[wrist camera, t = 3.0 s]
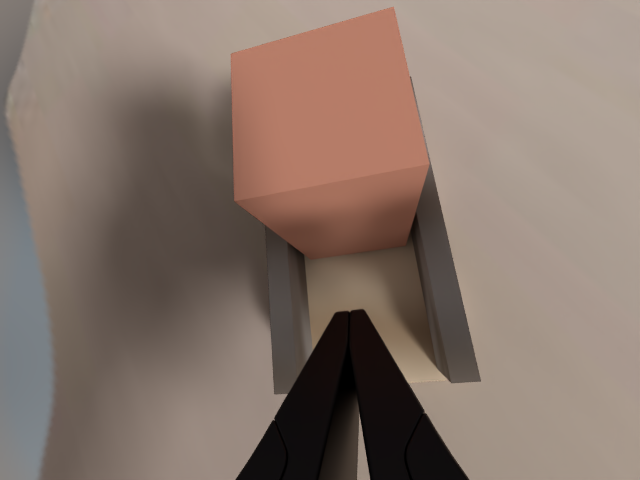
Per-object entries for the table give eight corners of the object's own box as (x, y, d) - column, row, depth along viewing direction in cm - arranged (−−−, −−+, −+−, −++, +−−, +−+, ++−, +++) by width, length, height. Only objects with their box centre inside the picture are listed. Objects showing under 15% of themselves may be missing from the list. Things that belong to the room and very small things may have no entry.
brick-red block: (405, 246, 15) (429, 163, 7) (310, 259, 16) (234, 201, 8) (389, 159, 16) (393, 7, 8) (303, 176, 17) (230, 53, 9)
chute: (469, 373, 14) (502, 395, 10) (292, 385, 16) (260, 408, 12) (407, 93, 19) (413, 33, 15) (274, 124, 20) (247, 78, 16)
